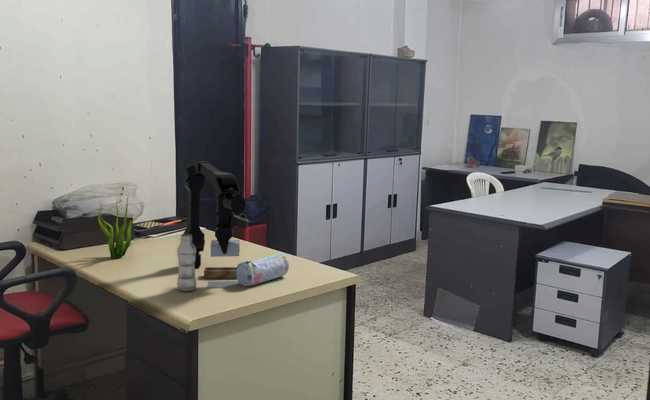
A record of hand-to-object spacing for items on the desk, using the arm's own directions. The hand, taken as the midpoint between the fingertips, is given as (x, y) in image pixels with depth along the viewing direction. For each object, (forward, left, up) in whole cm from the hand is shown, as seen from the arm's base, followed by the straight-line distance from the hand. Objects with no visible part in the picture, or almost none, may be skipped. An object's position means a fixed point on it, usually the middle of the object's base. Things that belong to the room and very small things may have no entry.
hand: (225, 251), depth 220 cm
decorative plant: (-45, +40, -13) cm, 61 cm away
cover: (0, 0, -1) cm, 1 cm away
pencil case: (+13, +3, -13) cm, 19 cm away
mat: (0, -1, -12) cm, 13 cm away
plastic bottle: (-13, -7, -13) cm, 19 cm away
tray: (0, +10, -12) cm, 16 cm away
